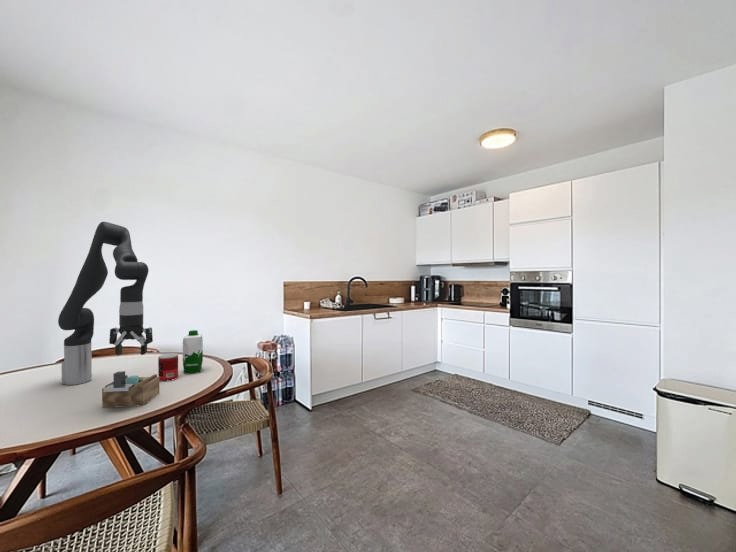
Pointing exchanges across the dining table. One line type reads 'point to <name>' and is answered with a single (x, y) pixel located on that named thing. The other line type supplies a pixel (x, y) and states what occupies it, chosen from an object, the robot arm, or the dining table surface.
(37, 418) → the dining table surface
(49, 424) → the dining table surface
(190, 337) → the milk carton
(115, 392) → the socket block
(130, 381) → the dowel
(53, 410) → the dining table surface
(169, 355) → the canned food
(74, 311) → the robot arm
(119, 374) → the latch bar
